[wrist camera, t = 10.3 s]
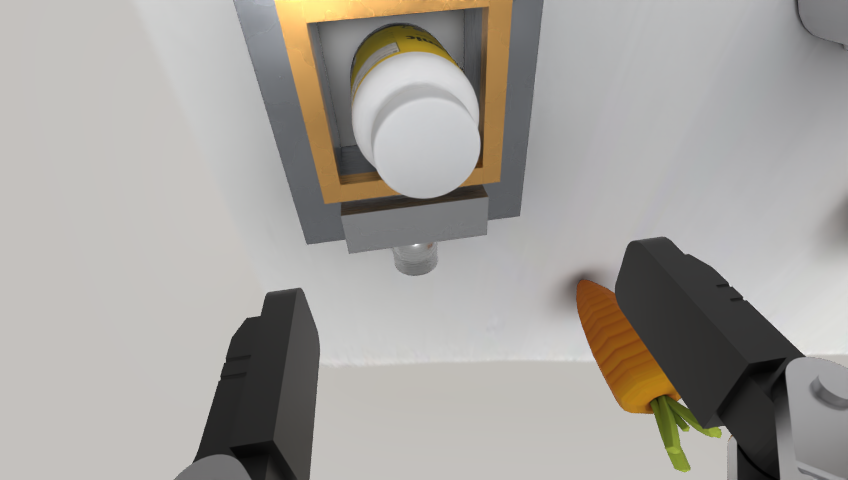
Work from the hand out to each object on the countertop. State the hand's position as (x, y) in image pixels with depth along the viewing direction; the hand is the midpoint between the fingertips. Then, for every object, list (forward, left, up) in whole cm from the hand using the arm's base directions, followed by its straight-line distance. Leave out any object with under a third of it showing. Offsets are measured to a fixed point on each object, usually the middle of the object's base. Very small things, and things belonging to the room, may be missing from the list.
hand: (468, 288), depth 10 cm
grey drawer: (-2, +2, -16) cm, 16 cm away
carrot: (-23, +3, -16) cm, 28 cm away
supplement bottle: (0, 0, -16) cm, 16 cm away
